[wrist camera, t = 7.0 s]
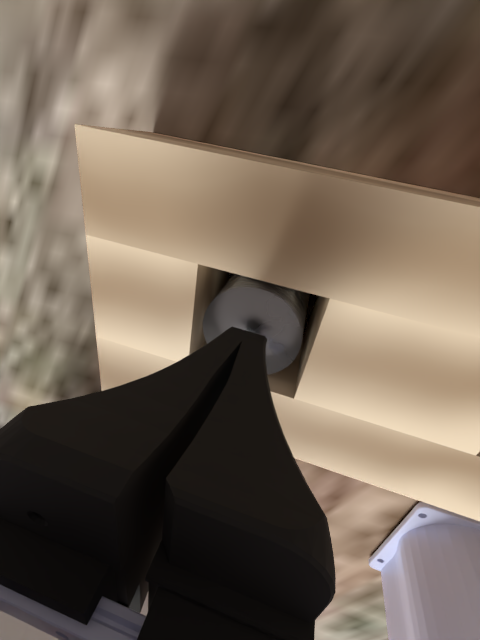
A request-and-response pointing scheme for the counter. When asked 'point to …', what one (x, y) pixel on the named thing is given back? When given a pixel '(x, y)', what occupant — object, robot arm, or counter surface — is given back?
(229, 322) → the steel peg
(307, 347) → the maple peg block
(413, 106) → the counter surface
